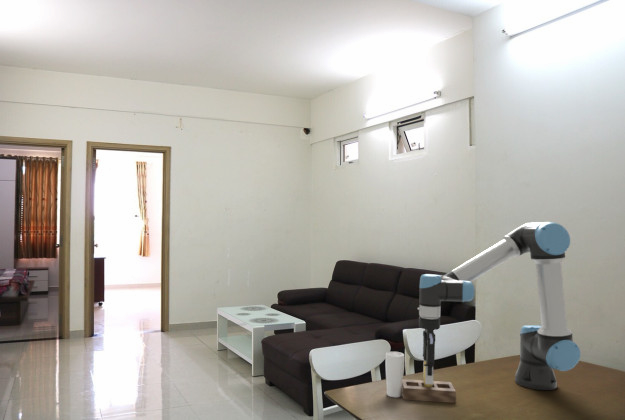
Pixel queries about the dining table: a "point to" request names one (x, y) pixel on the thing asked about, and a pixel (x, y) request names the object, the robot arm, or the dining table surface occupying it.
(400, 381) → the drinking glass
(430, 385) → the peg
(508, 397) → the dining table surface
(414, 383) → the hole block
